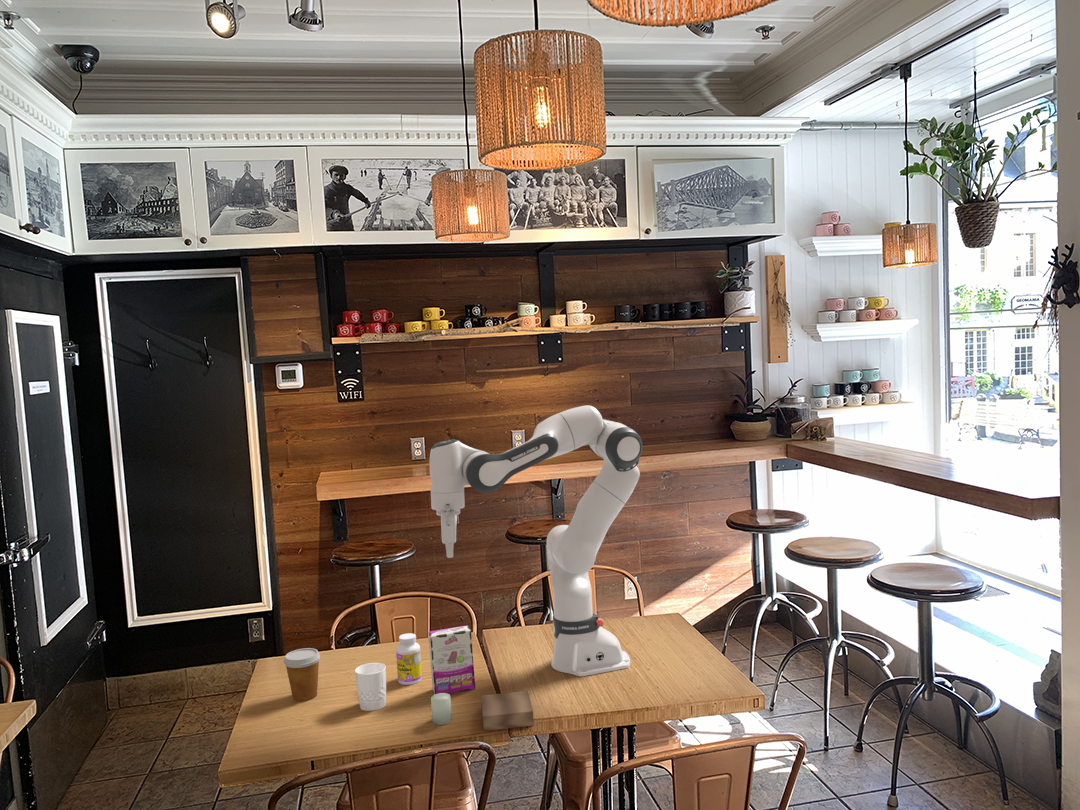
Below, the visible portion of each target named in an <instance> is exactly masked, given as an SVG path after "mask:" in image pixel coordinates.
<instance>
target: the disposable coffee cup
mask: <svg viewBox="0 0 1080 810" xmlns="http://www.w3.org/2000/svg"><path fill="white" fill-rule="evenodd" d="M284 656H285V657H284V659H283V664H284V665H285V669H286V671H287V677H288V681H289V687H290V691H291V697H292V700H293V701H295V702H307V701H308V702H309V701H311V700H314V699H315V698H316V697H317V696H318V687H319V686H318V684H319V682H318V681H319V666H320V665H319V664H320V662H319V661H320V658H321V654H320V652H319V651H318V649H316V648H313V647H312V648H311V647H308V648H307V647H306V648H305V647H304V648H298V649H295V650H292V651H289V652H287V653H286V654H285V655H284Z"/></svg>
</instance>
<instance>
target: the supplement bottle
mask: <svg viewBox="0 0 1080 810" xmlns="http://www.w3.org/2000/svg"><path fill="white" fill-rule="evenodd" d="M416 641H417V635H416V634H415V633H412V632H411V633H410V632H409V633H402V634H400V635H399V637H398V642H399V644H398V645H397V646H396V648H395V651H396V652H395V655H396V669H397V682H398V683H399V684H400V685H405V686H409V685H414V684H419V682H421V681H422V679H423V675H422V673H423V672H422V659H421V658H422V655H421V646H420V644H419V643H418V642H416Z"/></svg>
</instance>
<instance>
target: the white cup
mask: <svg viewBox="0 0 1080 810" xmlns="http://www.w3.org/2000/svg"><path fill="white" fill-rule="evenodd" d="M354 669H355V670H354V675H355V683H356V690H357V697H358V702H359V703H358V704H359V708H360V710H362V711H367V712H371V711H372V712H373V711H377V710H381V709H382V708H384V707H386V704H387V666H386V664H385V663H383V662H368V663H364V664H361V665H359V666H357V667H356V668H354Z"/></svg>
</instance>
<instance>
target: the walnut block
mask: <svg viewBox="0 0 1080 810" xmlns="http://www.w3.org/2000/svg"><path fill="white" fill-rule="evenodd" d="M480 698H481V699H480V700H481V701H480V703H481V712H482V713H481V715H482V724H483V731H484V732H487V731H494V730H503V729H504V730H505V729H512V728H522V727H533V726H535V724H534V710H533V707H532V706H533V705H532V702H531V697H530V694H529V691H528V690H524V691H523V690H522V691H513V692H502V693H493V694H485V695H484V694H483V695H480Z"/></svg>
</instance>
